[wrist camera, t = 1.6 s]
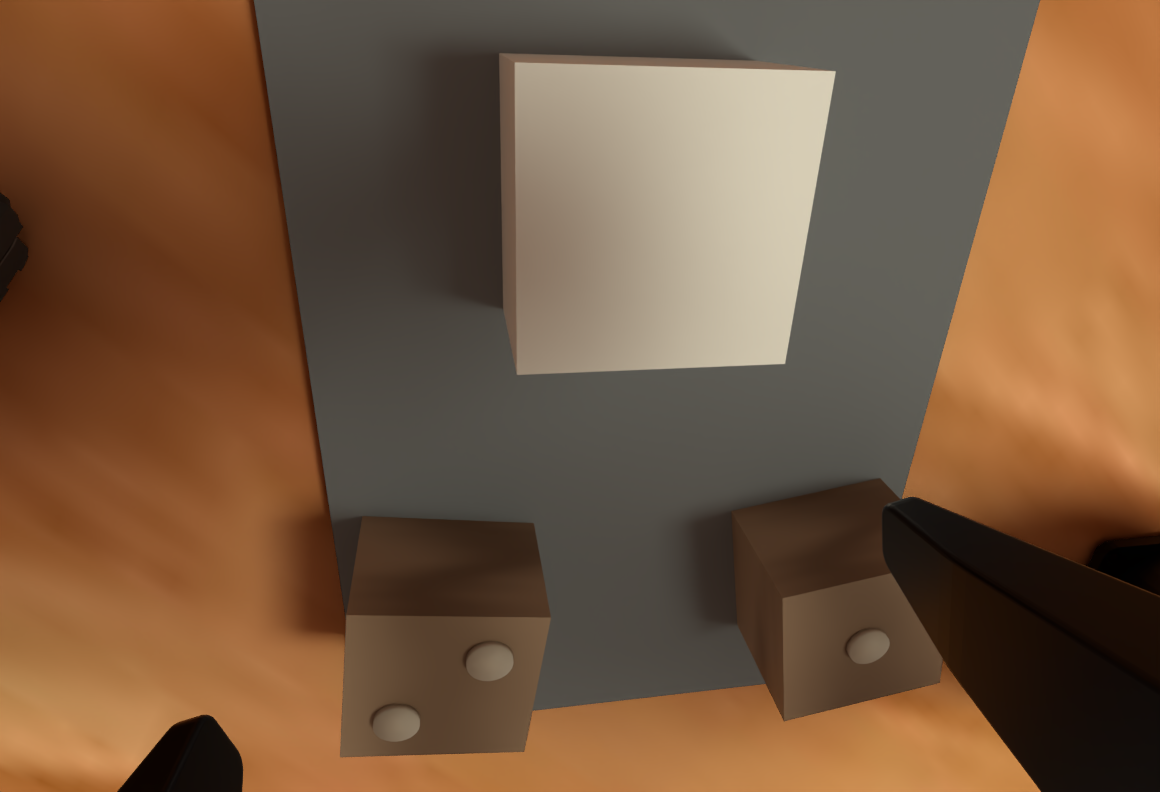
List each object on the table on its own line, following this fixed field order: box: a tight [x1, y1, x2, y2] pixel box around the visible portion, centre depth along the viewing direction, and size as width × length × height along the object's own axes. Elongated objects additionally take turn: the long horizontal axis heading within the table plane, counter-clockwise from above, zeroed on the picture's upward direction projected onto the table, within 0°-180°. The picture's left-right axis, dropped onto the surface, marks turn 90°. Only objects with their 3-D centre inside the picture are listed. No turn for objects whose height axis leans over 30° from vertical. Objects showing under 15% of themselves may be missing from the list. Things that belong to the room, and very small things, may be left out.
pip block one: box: [731, 478, 943, 721], centre depth 23 cm, size 5×5×4 cm
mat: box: [254, 0, 1040, 711], centre depth 21 cm, size 18×26×1 cm
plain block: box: [499, 53, 836, 375], centre depth 16 cm, size 6×6×4 cm
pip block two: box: [340, 516, 551, 757], centre depth 21 cm, size 5×5×4 cm
